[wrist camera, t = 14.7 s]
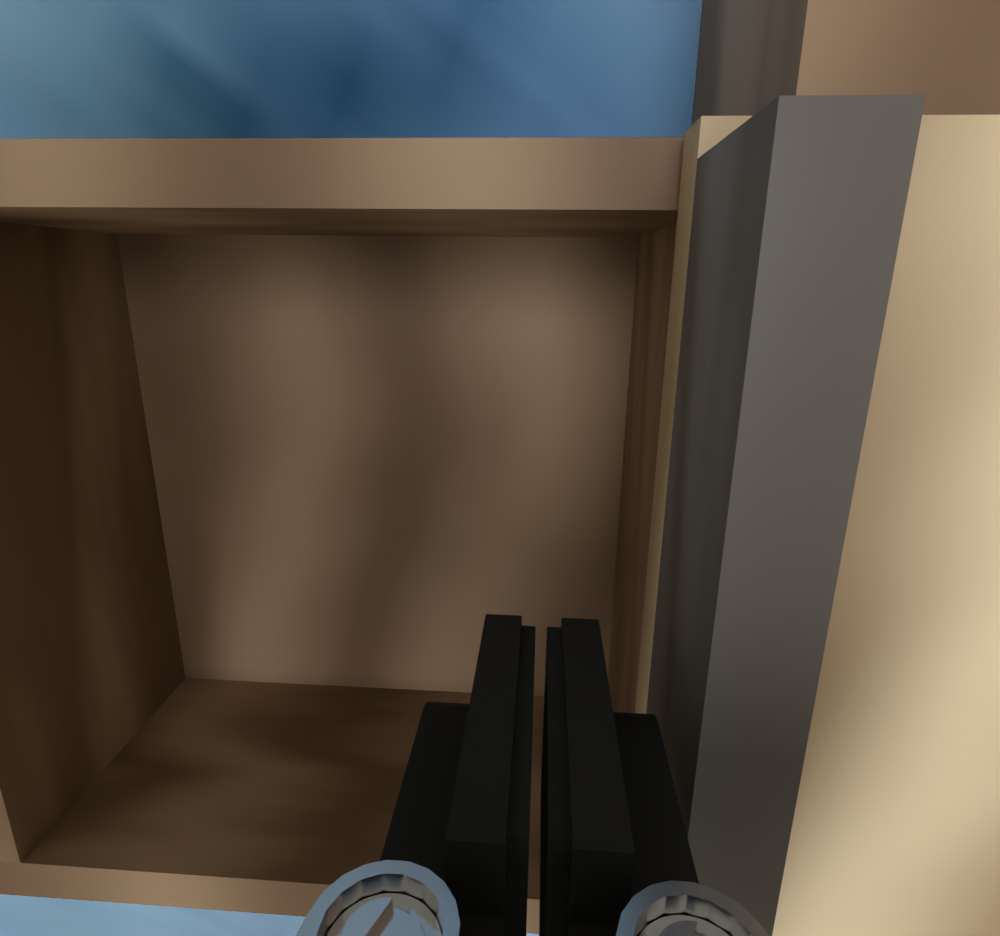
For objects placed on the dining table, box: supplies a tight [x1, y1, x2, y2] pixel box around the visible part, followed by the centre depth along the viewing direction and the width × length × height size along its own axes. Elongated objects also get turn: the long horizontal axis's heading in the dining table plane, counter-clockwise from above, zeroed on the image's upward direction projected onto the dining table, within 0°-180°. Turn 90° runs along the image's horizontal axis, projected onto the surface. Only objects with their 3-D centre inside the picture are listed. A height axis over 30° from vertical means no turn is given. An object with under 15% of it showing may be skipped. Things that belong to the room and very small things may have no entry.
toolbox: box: [0, 0, 1000, 934], centre depth 15 cm, size 21×28×8 cm
